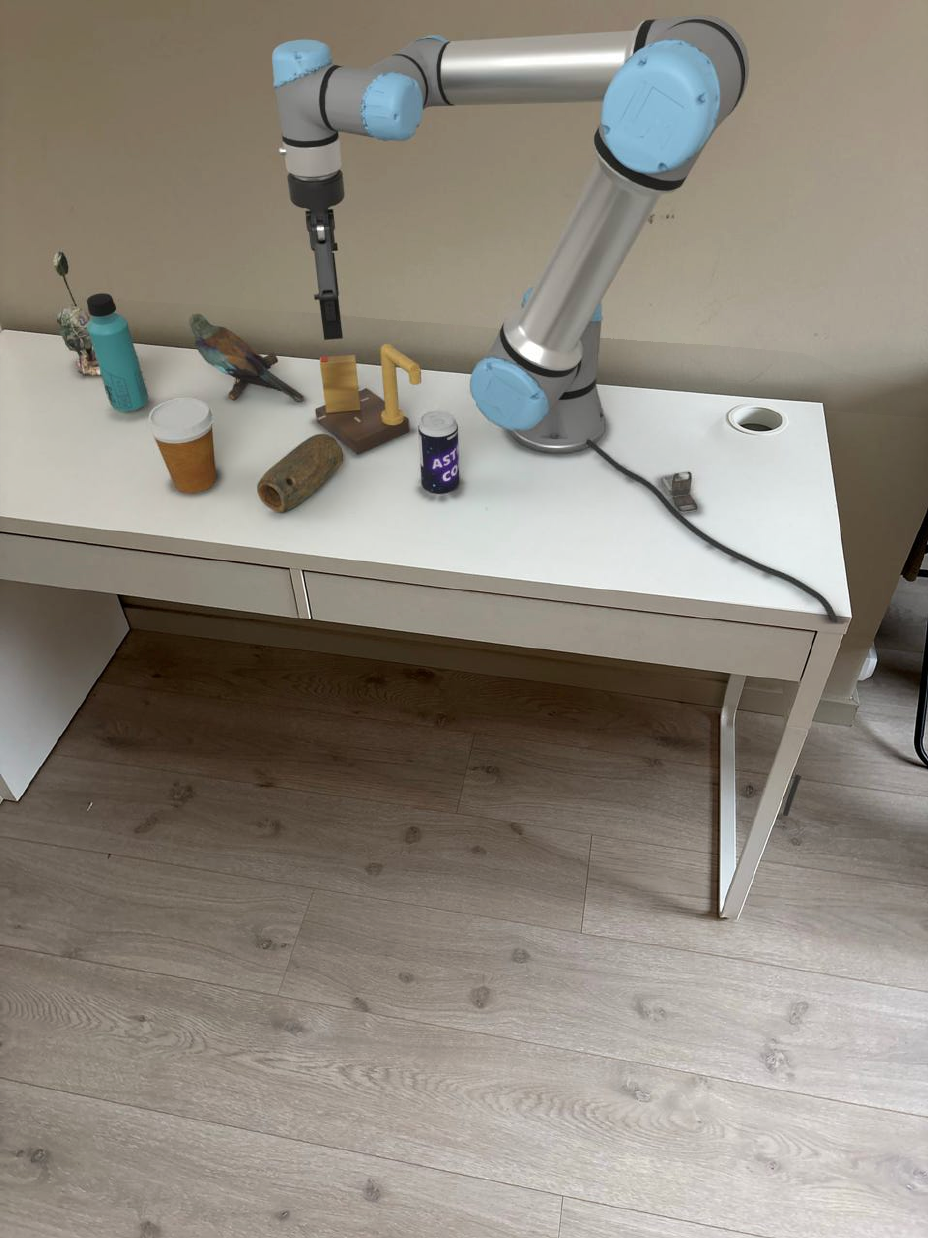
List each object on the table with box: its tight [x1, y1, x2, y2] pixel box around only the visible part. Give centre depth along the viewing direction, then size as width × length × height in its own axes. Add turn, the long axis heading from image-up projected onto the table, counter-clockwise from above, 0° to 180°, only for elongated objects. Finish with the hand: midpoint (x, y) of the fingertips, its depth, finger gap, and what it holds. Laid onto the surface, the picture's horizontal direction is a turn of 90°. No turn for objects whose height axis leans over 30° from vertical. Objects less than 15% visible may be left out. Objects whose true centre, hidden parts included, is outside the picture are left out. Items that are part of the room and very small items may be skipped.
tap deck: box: [315, 387, 410, 455], centre depth 165 cm, size 14×11×3 cm
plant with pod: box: [52, 250, 101, 377], centre depth 174 cm, size 8×11×20 cm
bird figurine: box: [188, 313, 305, 403], centre depth 170 cm, size 13×10×20 cm
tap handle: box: [319, 354, 361, 413], centre depth 161 cm, size 6×2×9 cm, turn 97°
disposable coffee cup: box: [146, 397, 217, 494], centre depth 151 cm, size 10×10×12 cm
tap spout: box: [379, 343, 422, 425], centre depth 156 cm, size 10×4×13 cm, turn 38°
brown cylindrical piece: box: [256, 433, 345, 514], centre depth 151 cm, size 15×7×7 cm, turn 155°
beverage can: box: [417, 409, 460, 497], centre depth 149 cm, size 6×6×12 cm
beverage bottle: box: [86, 292, 150, 412], centre depth 163 cm, size 6×7×20 cm
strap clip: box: [661, 470, 698, 514], centre depth 149 cm, size 8×3×4 cm, turn 11°
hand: (331, 315), depth 153 cm, fingers open, 13 cm apart
